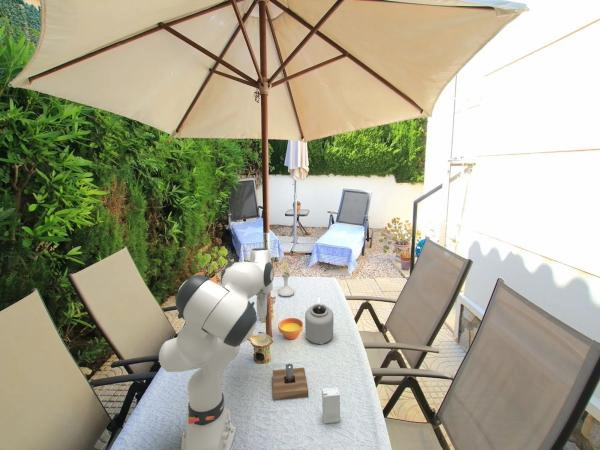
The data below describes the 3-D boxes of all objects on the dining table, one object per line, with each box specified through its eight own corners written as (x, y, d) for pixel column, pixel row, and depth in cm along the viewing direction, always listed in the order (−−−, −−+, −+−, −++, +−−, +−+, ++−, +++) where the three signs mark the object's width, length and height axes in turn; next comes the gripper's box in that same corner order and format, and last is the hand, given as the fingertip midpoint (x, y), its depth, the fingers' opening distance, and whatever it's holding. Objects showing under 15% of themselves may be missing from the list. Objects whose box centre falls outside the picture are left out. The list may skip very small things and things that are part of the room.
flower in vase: (276, 292, 230) (275, 259, 225) (291, 290, 234) (290, 257, 228) (281, 300, 218) (279, 264, 213) (297, 297, 222) (296, 262, 216)
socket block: (308, 397, 131) (308, 389, 130) (273, 400, 130) (273, 393, 129) (304, 374, 145) (304, 367, 144) (273, 377, 143) (272, 370, 143)
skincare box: (337, 413, 123) (338, 385, 120) (340, 423, 118) (340, 394, 116) (321, 415, 122) (321, 387, 119) (323, 424, 118) (323, 396, 115)
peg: (293, 388, 136) (293, 368, 134) (286, 389, 136) (285, 368, 133) (293, 384, 139) (292, 363, 137) (286, 384, 139) (285, 364, 136)
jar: (335, 350, 162) (335, 304, 156) (305, 350, 162) (304, 304, 156) (331, 330, 180) (331, 288, 175) (305, 330, 180) (304, 288, 175)
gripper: (269, 295, 123) (270, 328, 126) (269, 276, 143) (271, 304, 146) (252, 296, 123) (254, 329, 126) (255, 276, 143) (257, 305, 146)
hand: (263, 316), depth 136 cm, fingers open, 8 cm apart
